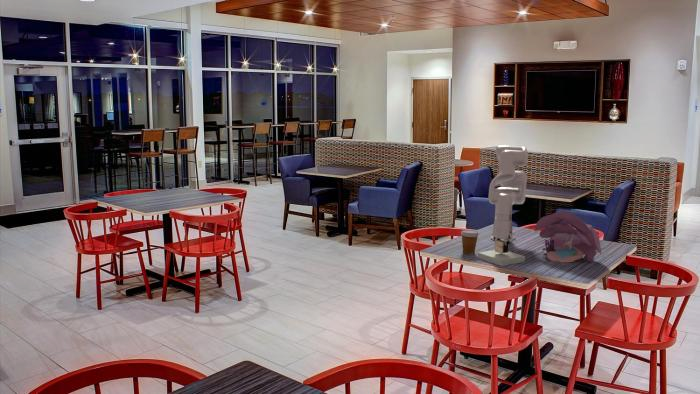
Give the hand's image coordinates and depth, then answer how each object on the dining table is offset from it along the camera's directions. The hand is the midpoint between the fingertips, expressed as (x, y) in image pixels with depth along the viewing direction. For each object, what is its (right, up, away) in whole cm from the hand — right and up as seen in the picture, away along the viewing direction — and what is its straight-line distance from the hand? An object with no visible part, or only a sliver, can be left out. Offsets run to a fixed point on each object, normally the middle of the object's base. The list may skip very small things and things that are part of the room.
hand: (501, 250), depth 326 cm
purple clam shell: (+36, -5, +8) cm, 38 cm away
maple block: (0, -1, 0) cm, 1 cm away
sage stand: (0, -5, +1) cm, 5 cm away
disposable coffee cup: (-15, -3, +14) cm, 20 cm away
